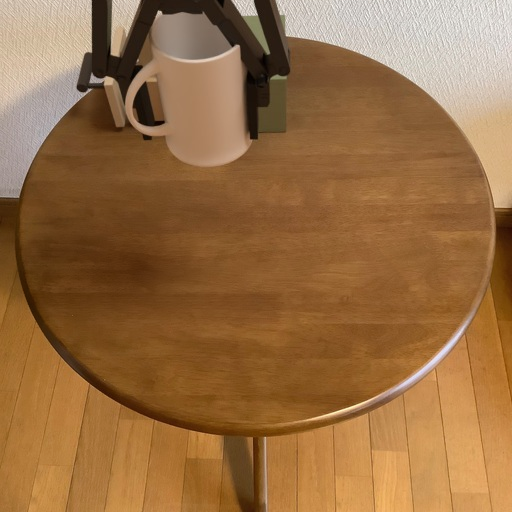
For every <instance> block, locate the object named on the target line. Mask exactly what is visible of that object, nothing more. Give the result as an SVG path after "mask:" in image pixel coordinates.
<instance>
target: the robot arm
mask: <svg viewBox="0 0 512 512" xmlns="http://www.w3.org/2000/svg"><path fill="white" fill-rule="evenodd" d="M90 1H91V53H92V74H91V75H92V76H93V77H95V78H96V79H99V80H100V79H101V80H102V79H105V77H106V76H107V77H111V78H113V79H115V80H116V81H117V82H118V85H119V88H120V92H121V96H122V99H123V103H124V105H125V100H126V95H127V92H128V89H129V86H130V84H131V83H132V81H133V79H134V78H135V76H136V75H137V74H138V73H139V71H140V70H141V69H142V68H143V65H140V64H138V65H137V62H138V61H139V60H138V58H139V55H140V53H141V50H142V48H143V45H144V43H145V40H146V38H147V35H148V33H149V30H150V28H151V26H152V25H153V23H154V20H155V18H156V17H157V16H158V13H159V12H161V13H162V15H173V14H177V13H180V12H184V13H189V14H203V12H204V13H205V15H206V16H207V18H208V19H209V20H210V22H211V23H212V24H213V25H216V26H217V27H218V28H219V30H220V31H221V32H222V34H223V35H224V37H225V38H226V39H227V41H228V42H229V44H230V45H231V46H232V48H233V47H234V46H235V45H240V57H241V60H242V62H243V63H244V65H245V66H246V67H247V69H248V74H247V99H248V116H249V132H250V140H252V141H253V140H254V141H255V140H257V141H258V140H259V132H258V124H259V115H258V107H268V105H269V103H270V79H271V78H272V77H273V76H275V75H279V76H287V77H288V76H289V75H290V73H291V48H290V45H289V41H288V38H287V35H286V34H285V31H286V30H285V31H284V28H283V24H282V21H281V17H280V15H281V14H280V11H279V7H278V4H277V0H253V4H254V8H255V11H256V14H257V15H258V17H259V21H260V24H261V27H262V30H263V33H264V36H265V39H266V42H267V45H268V48H269V51H270V54H267V53H266V51H265V50H264V48H263V47H262V45H261V44H260V42H259V41H258V39H257V38H256V36H255V35H254V33H253V32H252V30H251V29H250V27H249V26H248V24H247V23H246V21H245V20H244V18H243V17H242V16H243V15H242V14H241V12H240V11H239V10H238V8H237V7H236V5H235V4H234V2H233V0H139V3H138V5H137V9H136V11H135V15H134V17H133V19H132V23H131V25H130V28H129V30H128V33H127V34H126V37H127V38H126V41H125V43H124V46H123V49H122V52H120V56H119V57H118V56H114V55H111V49H112V31H113V29H112V27H113V25H112V23H113V0H90ZM132 109H136V112H137V116H138V120H139V121H138V123H140V124H141V125H144V126H149V127H155V122H156V121H155V118H154V113H153V109H152V105H151V100H150V96H149V91H148V87H147V83H146V81H145V82H144V83H143V84H142V85H141V87H140V88H139V90H138V91H137V93H136V95H135V98H134V101H133V106H132ZM141 135H142V139H143V141H152V140H153V136H149V135H146V134H143V133H141Z"/></svg>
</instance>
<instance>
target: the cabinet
mask: <svg viewBox="0 0 512 512" xmlns="http://www.w3.org/2000/svg"><path fill="white" fill-rule="evenodd" d="M242 17H243V18H244V20H245V21H246V23H247V24H248V26H249V27H250V29H251V30H252V32H253V33H254V35H255V36H256V38H257V39H258V41H259V42H260V44H261V45H262V47H263V48H264V50H265V51H266V53H267V54H270V51H269V48H268V45H267V42H266V39H265V36H264V33H263V30H262V27H261V24H260V21H259V17H258V14H257V15H242ZM280 17H281V21H282V24H283V28H284V31H285V34H286V15H285V14H280ZM287 85H288V75H287V76H279V75H275V76H273V77H272V78H271V79H270V103H269V105H268V107H258V115H259V124H258V133H286V132H287V105H288V104H287V101H288V100H287V99H288V98H287V96H288V95H287V92H288V91H287V89H288V87H287Z"/></svg>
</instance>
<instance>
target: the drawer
mask: <svg viewBox="0 0 512 512" xmlns="http://www.w3.org/2000/svg"><path fill="white" fill-rule="evenodd" d="M126 33H127V32H126V29H125V26H115V30H114V36H113V40H112V43H111V55H114V56H118V57H119V56H120V52H122V49H123V46H124V43H125V41H126V38H127V34H126ZM152 59H153V58H152V53H151V48H150V42H149V33H148V35H147V38H146V40H145V43H144V45H143V48H142V50H141V53H140V55H139V58H138V60H137V61H138V65H143V67H144V66H146V65H147V64H148V63H149V62H150V61H152ZM92 75H93V74H92V51H87V52H85V53H84V54H83V58H82V61H81V66H80V70H79V74H78V78H77V82H76V86H75V87H76V90H77V91H78V92H80V93H82V94H83V93H84V94H85V93H87V92H88V91H89V90H103V89H104V90H105V94H106V97H107V101H108V103H109V108H110V111H111V114H112V118H113V121H114V124H115V127H116V128H124V127H125V125H126V119H127V114H126V109H125V105H124V103H123V99H122V96H121V92H120V88H119V85H118V82H117V81H116V80H115V79H113V78H111V77H107V76H106V77H105V78H104V82H90V81H91V77H92ZM146 83H147V87H148V91H149V96H150V100H151V105H152V109H153V113H154V118H155V122H163V121H164V122H165V120H164V114H163V109H162V104H161V99H160V94H159V89H158V84H157V78H156V74H154V75H152V76H151V77H149V78H148V79H147V80H146ZM132 112H133V116H134V118H135V120H136V121H137V122H139V120H138V116H137V112H136V109H132Z"/></svg>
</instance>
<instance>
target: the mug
mask: <svg viewBox="0 0 512 512" xmlns="http://www.w3.org/2000/svg"><path fill="white" fill-rule="evenodd" d="M149 42H150V48H151V53H152V58H153V59H152V61H150V62H149V63H148V64H147V65H146V66H144V67H143V68H142V69H141V70H140V71H139V73H138V74H137V75H136V76H135V78H134V79H133V81H132V83H131V84H130V86H129V89H128V92H127V95H126V100H125V109H126V118H127V119H128V121H129V123H130V124H131V125H132V127H133V128H134V129H135V130H136V131H138V132H139V133H141V134H142V133H143V134H146V135H149V136H152V137H165V143H166V146H167V148H168V150H169V151H170V153H171V154H172V155H173V156H174V157H175V158H176V159H178V160H179V161H180V162H182V163H185V164H188V165H190V166H194V167H199V168H214V167H215V168H216V167H220V166H224V165H228V164H230V163H232V162H234V161H236V160H238V159H240V157H242V156H243V155H244V154H245V153H247V151H248V150H249V149H250V146H251V145H252V143H253V140H250V132H249V116H248V99H247V74H248V69H247V67H246V66H245V65H244V63H243V62H242V60H241V57H240V45H235V46H234V47H233V48H232V46H231V45H230V44H229V42H228V41H227V39H226V38H225V37H224V35H223V34H222V32H221V31H220V30H219V28H218V27H217V26H216V25H213V24H212V23H211V22H210V20H209V19H208V18H207V16H206V15H205V13H204V12H203V14H189V13H184V12H180V13H177V14H173V15H162V12H160V13H159V14H157V15H156V18H155V20H154V23H153V25H152V26H151V28H150V30H149ZM154 74H156V78H157V84H158V89H159V94H160V99H161V104H162V109H163V114H164V120H165V121H164V123H162V124H160V125H154V127H149V126H144V125H141V124H140V123H139V121H136V120H135V118H134V116H133V112H132V106H133V101H134V98H135V95H136V93H137V91H138V90H139V88H140V87H141V85H142V84H143V83H144V82H145V81H146V80H147V79H148V78H149V77H151V76H152V75H154Z"/></svg>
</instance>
